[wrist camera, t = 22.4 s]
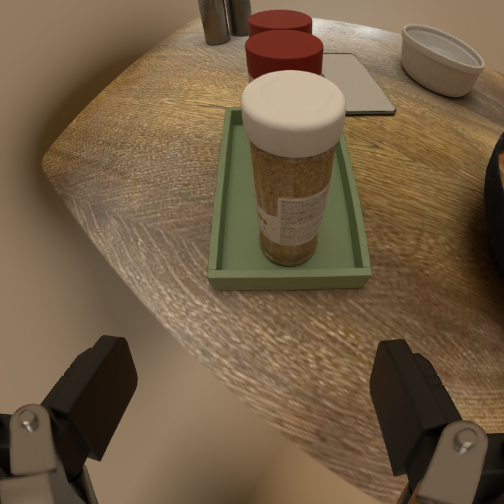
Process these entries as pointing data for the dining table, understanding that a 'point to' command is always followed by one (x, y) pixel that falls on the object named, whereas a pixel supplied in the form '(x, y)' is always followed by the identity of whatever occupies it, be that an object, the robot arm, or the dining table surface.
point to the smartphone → (356, 84)
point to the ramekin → (439, 60)
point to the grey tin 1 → (214, 21)
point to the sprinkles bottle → (291, 157)
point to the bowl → (495, 206)
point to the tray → (247, 230)
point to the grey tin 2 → (238, 16)
